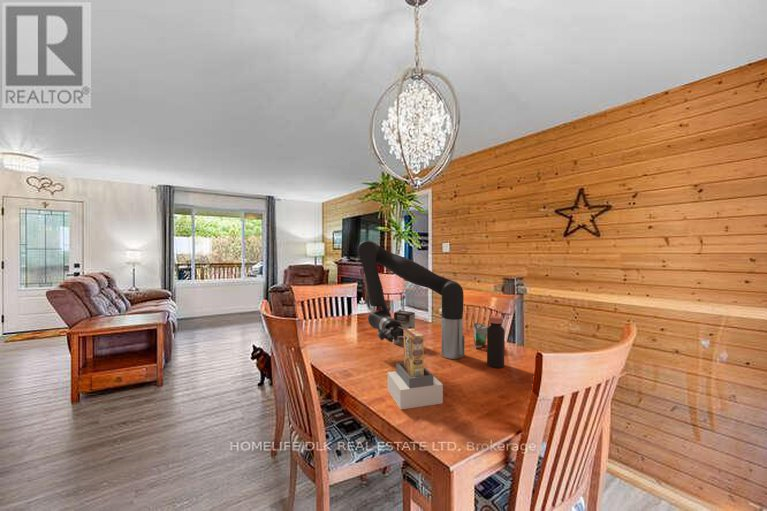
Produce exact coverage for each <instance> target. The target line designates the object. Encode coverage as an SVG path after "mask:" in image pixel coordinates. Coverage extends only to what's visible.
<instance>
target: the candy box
mask: <svg viewBox="0 0 767 511" xmlns="http://www.w3.org/2000/svg"><path fill="white" fill-rule="evenodd" d="M424 346H425V345H424V335H423V334H422V333H421V332H420V331H419V330H417V329H404V346H403V362H404V370H405V371H406V372H407V373H408V375H409V376H410V377H417V376H424V367H425V366H424V365H425V360H424V358H425V357H424V356H425V354H424V352H425V350H424V349H425V348H424Z"/></svg>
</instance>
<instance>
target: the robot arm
mask: <svg viewBox="0 0 767 511" xmlns="http://www.w3.org/2000/svg"><path fill="white" fill-rule="evenodd" d="M357 254H358V257H359V259H360V263H361V265H362V268H363V273H364V278H365V281H366V282H365V283H366V288H367V289H366V290H367V295H368V301H369V305H370V306H371V307H380V309H381V310H377V311H372V312H370V313H369V315H368V317H367V320H368V324H369V325H370V326H371V327H372V328H373V329H376V330H377V336H378V339H380V341H383V340H386V341H387V342H390V343H394V339H396V338H398V337H403V338H404V329H407V328H402V326H401V324H400V323H399V322H398V321H396V320H395V319H394V317H392V315H391V312H390V310H389V307H388V306H387V303H386V301H385V300H386V298H385V295H384V289H383V284H382V281H381V278H380V274H379V271H378V265H380V266H382V267H384V268H385V269H388V270H389V271H390V272H391V273H393V274H394V275H396V276H397V277H399V278H400V279H402V280H405V281H406V282H409V283H411V284H414V285H417V286H419V287H423V288H426V289H429V290H431V291H433V292H435V293H437V294H438V295H441V350H440V351H441V356H442V357H443V358H445V359H451V360H458V359H462V358H463V357H465V346H466V345H465V343H466V342H465V339H466V338H465V334H464V333H463V330H464V327H463V326H464V324H463V323H464V322H463V320H464V317H463V316H464V300H465V298H464V290H463V287H462V286H461V284H460V283H459V282H457V281H455V280H452V279H450V278H446V277H443V276H441V275H439V274H436V273H435V272H433V271H431V270H430V269H428V268H426V267H425V266H424V265H421V264H419V263H418V262H415V261H414V260H411V259H409V258H406V257H404V256H401V255H399V254H395V253H393V252H392V251H391V252H390V251H389V250H387V249H385V248H384V247H382V246H381V245H379V244H377V243H376V242H374V241H371V240H365V241H362V242H360V243H359V245H358V247H357ZM408 329H414V328H412V327H408Z"/></svg>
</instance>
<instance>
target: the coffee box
mask: <svg viewBox="0 0 767 511" xmlns="http://www.w3.org/2000/svg"><path fill="white" fill-rule="evenodd" d="M393 318H394V319H395V320H396V321H398V322H399V323H400V324H401V326H402V328H407V329H408V327H412V328H414V329H415V323H416V321H415V320H416V312H414V311H413V312H412V311H407V310H396V311H394V312H393ZM415 330H416V329H415ZM393 344H394V345H398V346H403V347H404V338H403V337H398V338H396V339H393Z"/></svg>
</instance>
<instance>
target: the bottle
mask: <svg viewBox="0 0 767 511" xmlns="http://www.w3.org/2000/svg"><path fill="white" fill-rule="evenodd" d="M502 325H503V317H502V316H499V315H490V316H489V326H487V334H486V365H487V366H488V367H491V368H494V369H500V368H504V366H505V339H506V338H505V337H506V336H505V333H506V332H505V328H504V327H503V326H502Z"/></svg>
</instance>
